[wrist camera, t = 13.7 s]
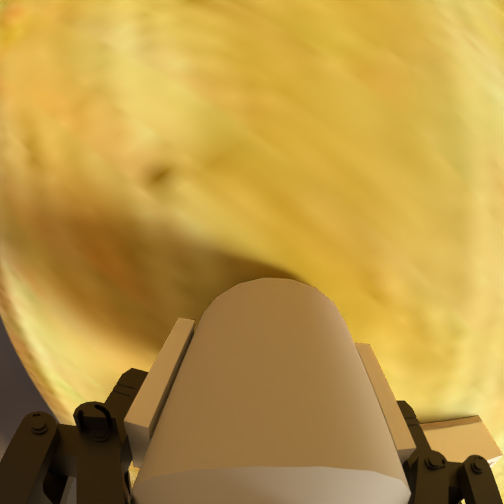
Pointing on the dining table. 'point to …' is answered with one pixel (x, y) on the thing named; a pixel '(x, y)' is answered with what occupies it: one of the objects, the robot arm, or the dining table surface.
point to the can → (271, 410)
